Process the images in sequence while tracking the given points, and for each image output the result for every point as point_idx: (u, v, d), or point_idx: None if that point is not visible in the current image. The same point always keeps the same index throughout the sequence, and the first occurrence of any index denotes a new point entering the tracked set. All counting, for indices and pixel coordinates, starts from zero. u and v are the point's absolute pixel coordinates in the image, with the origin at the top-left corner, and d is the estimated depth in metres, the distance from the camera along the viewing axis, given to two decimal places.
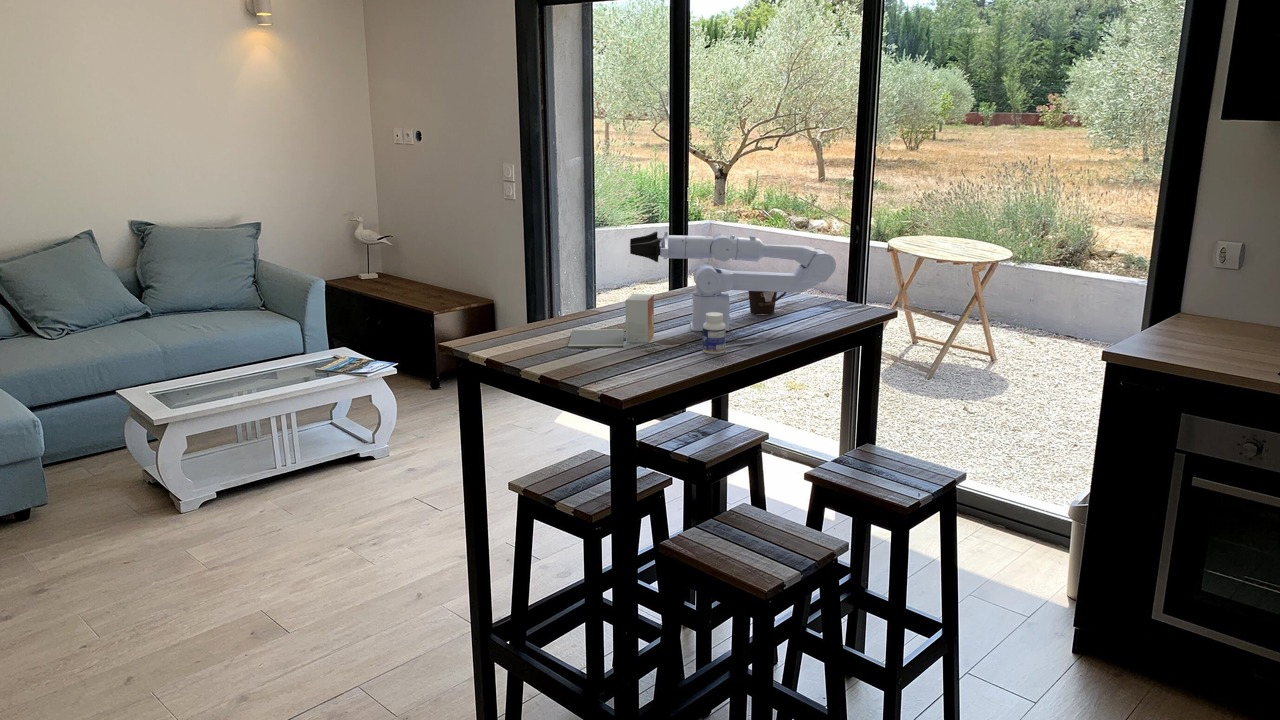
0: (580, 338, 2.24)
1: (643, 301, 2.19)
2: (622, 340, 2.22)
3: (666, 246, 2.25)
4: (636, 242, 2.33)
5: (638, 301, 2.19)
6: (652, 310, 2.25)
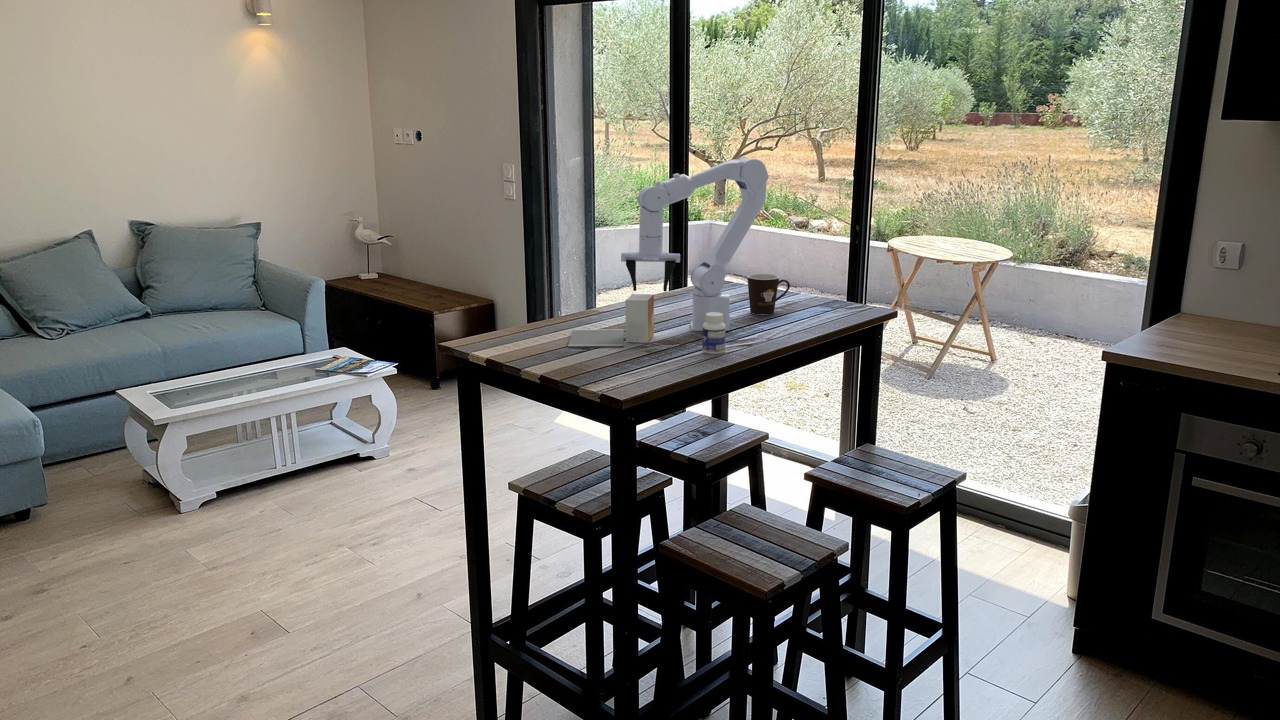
0: (580, 338, 2.24)
1: (643, 301, 2.19)
2: (622, 340, 2.22)
3: (673, 256, 2.27)
4: None
5: (638, 301, 2.19)
6: (652, 310, 2.25)
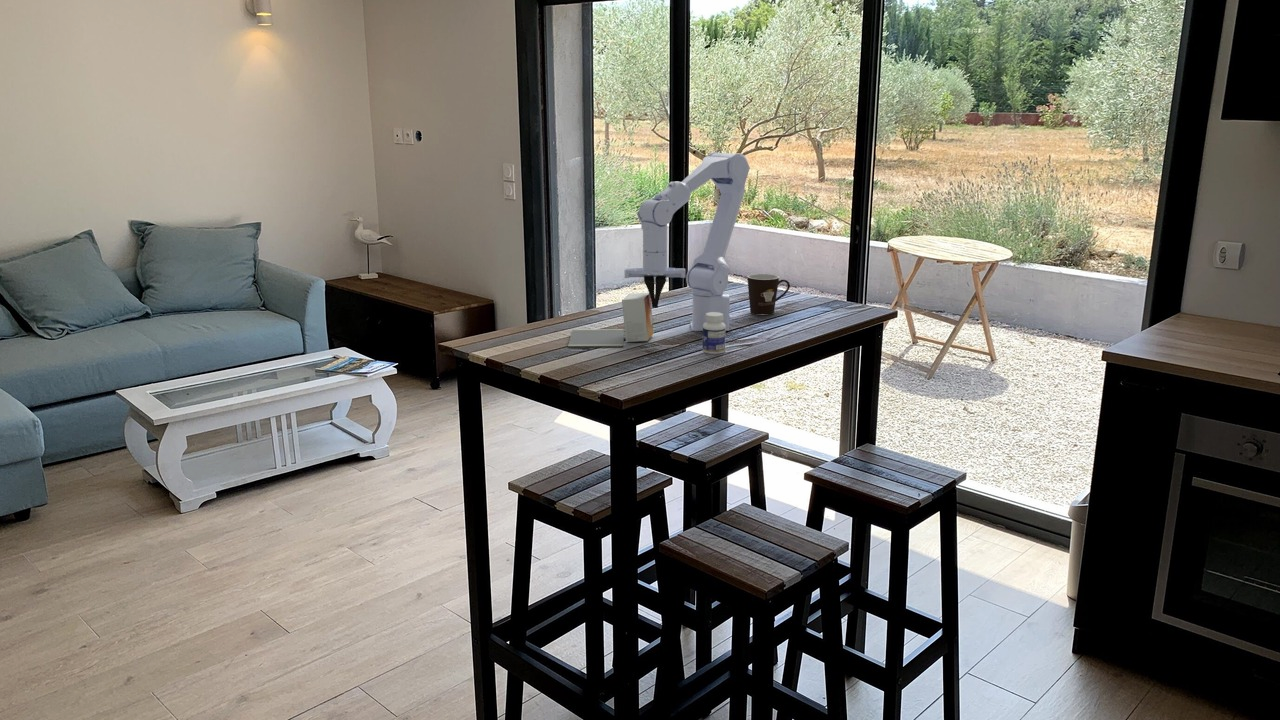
0: (580, 338, 2.24)
1: (639, 299, 2.19)
2: (622, 340, 2.22)
3: (678, 271, 2.20)
4: None
5: (634, 300, 2.19)
6: (650, 308, 2.24)
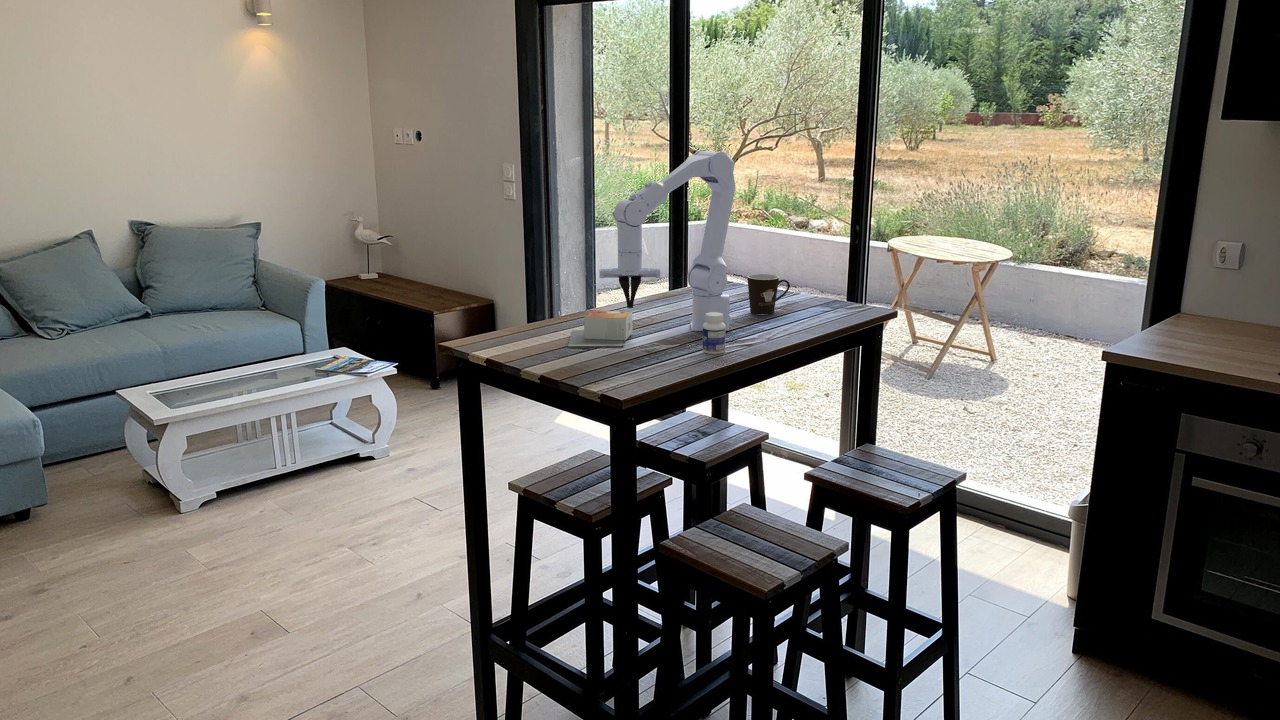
0: (580, 338, 2.24)
1: (584, 321, 2.23)
2: (622, 340, 2.22)
3: (653, 271, 2.20)
4: None
5: (585, 326, 2.23)
6: (603, 312, 2.27)
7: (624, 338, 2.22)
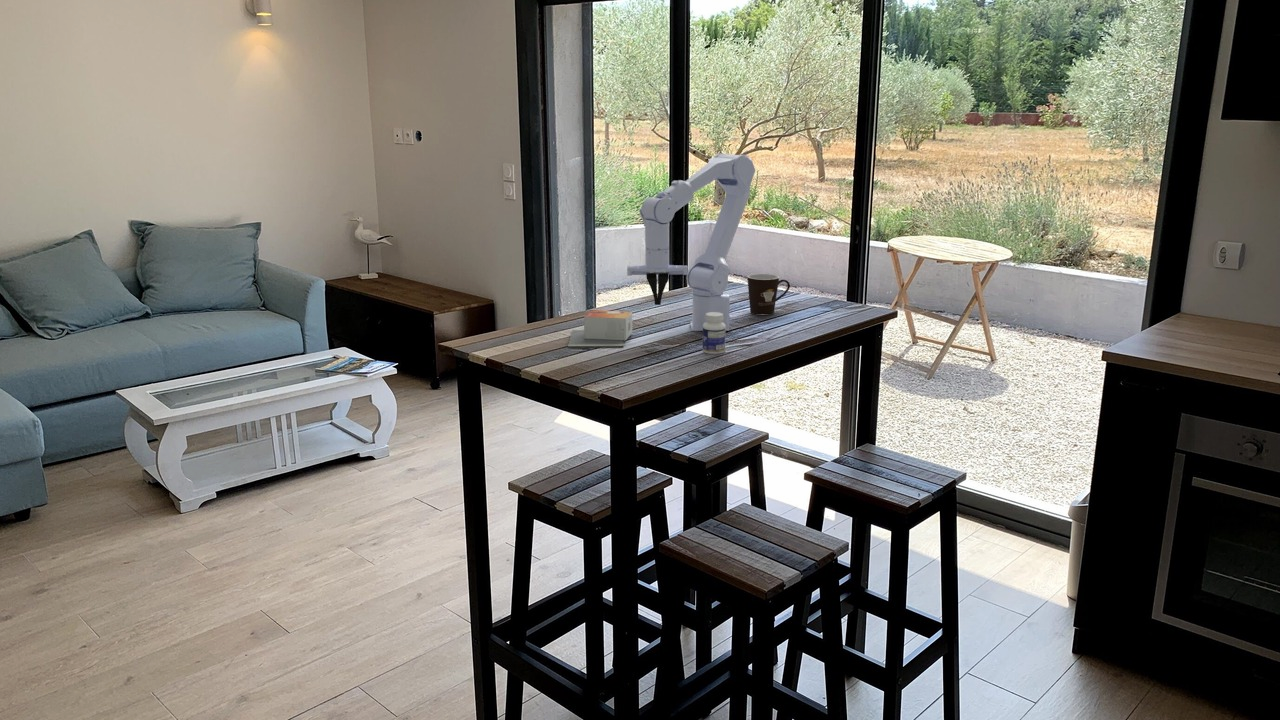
0: (580, 338, 2.24)
1: (584, 321, 2.23)
2: (622, 340, 2.22)
3: (681, 268, 2.21)
4: None
5: (585, 326, 2.23)
6: (603, 312, 2.27)
7: (624, 338, 2.22)
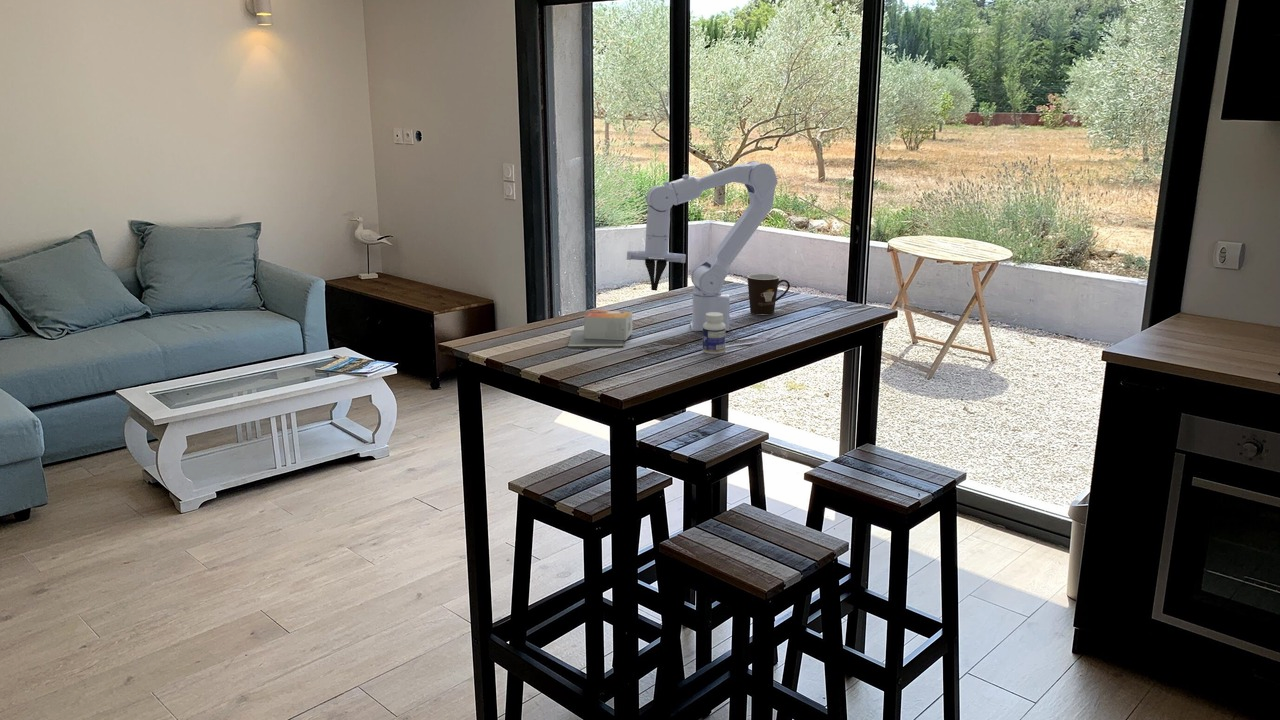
0: (580, 338, 2.24)
1: (584, 321, 2.23)
2: (622, 340, 2.22)
3: (679, 256, 2.28)
4: (654, 283, 2.30)
5: (585, 326, 2.23)
6: (603, 312, 2.27)
7: (624, 338, 2.22)
